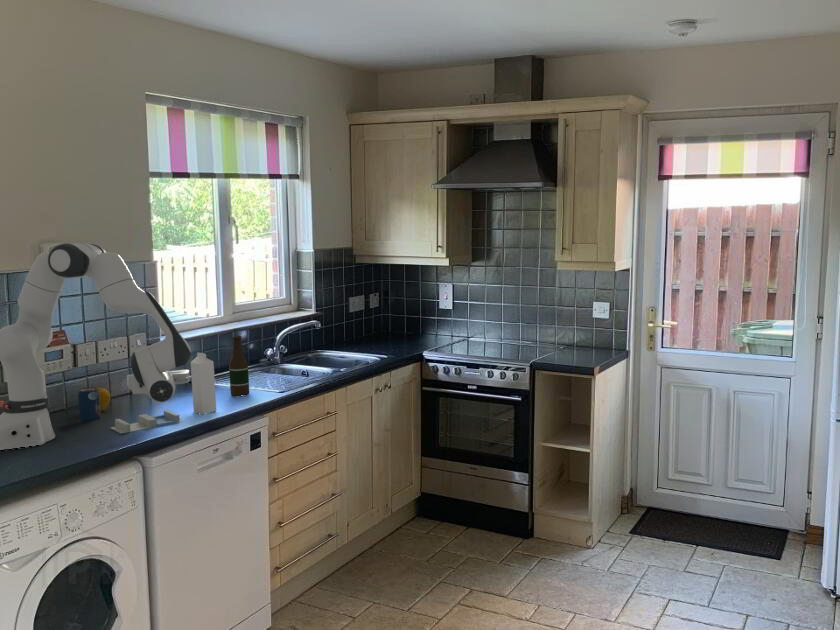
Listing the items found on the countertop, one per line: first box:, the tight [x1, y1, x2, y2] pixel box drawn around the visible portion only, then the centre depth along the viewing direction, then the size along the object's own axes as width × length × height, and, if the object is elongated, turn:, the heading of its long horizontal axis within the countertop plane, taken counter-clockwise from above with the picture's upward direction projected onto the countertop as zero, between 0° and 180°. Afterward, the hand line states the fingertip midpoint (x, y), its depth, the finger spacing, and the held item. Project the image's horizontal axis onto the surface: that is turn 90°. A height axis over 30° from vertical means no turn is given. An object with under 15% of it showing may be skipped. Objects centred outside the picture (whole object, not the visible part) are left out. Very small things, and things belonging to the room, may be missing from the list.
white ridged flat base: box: [110, 409, 184, 434], centre depth 272 cm, size 22×12×4 cm, turn 130°
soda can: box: [77, 387, 102, 423], centre depth 283 cm, size 7×7×12 cm
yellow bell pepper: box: [96, 387, 111, 413], centre depth 300 cm, size 8×8×9 cm
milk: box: [190, 352, 217, 415], centre depth 293 cm, size 6×6×22 cm
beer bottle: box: [228, 334, 250, 397], centre depth 320 cm, size 8×8×24 cm
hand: (158, 374), depth 274 cm, fingers closed on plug, 4 cm apart
